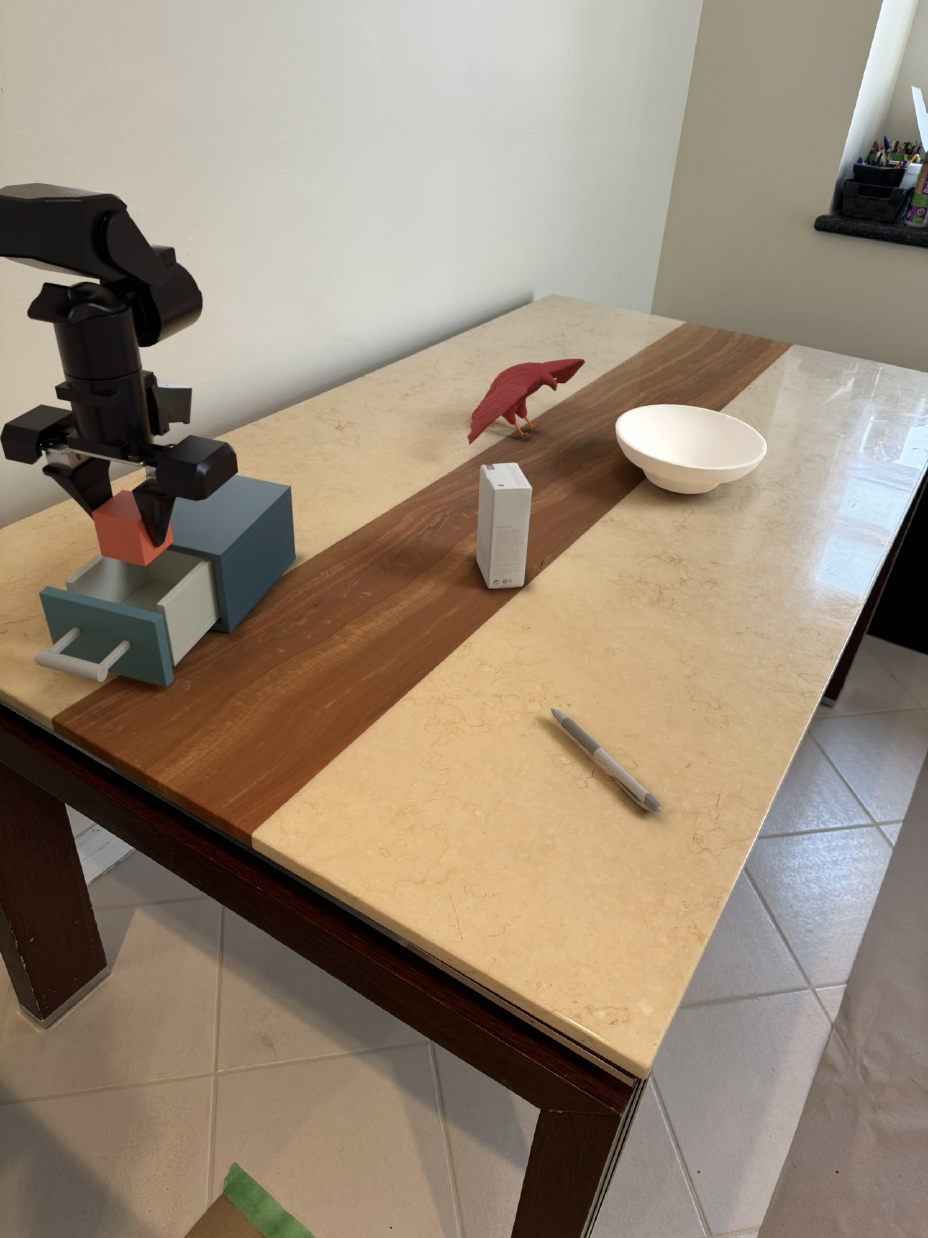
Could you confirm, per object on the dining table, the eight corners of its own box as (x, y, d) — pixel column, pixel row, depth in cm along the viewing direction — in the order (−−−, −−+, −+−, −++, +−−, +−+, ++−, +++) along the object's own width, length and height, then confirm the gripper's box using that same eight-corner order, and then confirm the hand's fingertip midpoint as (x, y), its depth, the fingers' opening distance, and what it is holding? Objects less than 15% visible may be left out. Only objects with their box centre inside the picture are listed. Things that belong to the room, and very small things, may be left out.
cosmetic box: (525, 587, 95) (537, 488, 88) (485, 590, 94) (494, 490, 87) (510, 557, 100) (520, 460, 93) (472, 559, 99) (479, 462, 92)
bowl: (734, 453, 126) (746, 408, 122) (770, 522, 110) (785, 473, 106) (599, 445, 125) (607, 399, 121) (616, 513, 109) (626, 463, 105)
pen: (654, 822, 70) (657, 810, 69) (545, 717, 78) (547, 706, 78) (663, 816, 70) (666, 805, 69) (554, 713, 79) (556, 702, 78)
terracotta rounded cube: (145, 566, 75) (137, 522, 72) (101, 556, 76) (91, 512, 73) (173, 541, 78) (167, 498, 76) (131, 531, 79) (122, 488, 77)
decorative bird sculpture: (449, 490, 121) (521, 437, 110) (409, 434, 120) (478, 375, 109) (545, 424, 140) (613, 373, 130) (512, 375, 139) (578, 320, 129)
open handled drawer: (134, 723, 74) (119, 656, 69) (19, 691, 76) (-3, 624, 71) (241, 604, 88) (234, 543, 83) (142, 580, 90) (130, 519, 86)
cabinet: (230, 633, 85) (220, 555, 80) (117, 605, 88) (100, 527, 83) (296, 558, 97) (291, 485, 91) (194, 535, 99) (184, 463, 94)
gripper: (262, 352, 72) (275, 518, 81) (66, 317, 75) (101, 479, 85) (188, 401, 63) (212, 580, 72) (-28, 359, 67) (21, 534, 76)
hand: (136, 539), depth 76 cm, fingers closed on terracotta rounded cube, 4 cm apart
